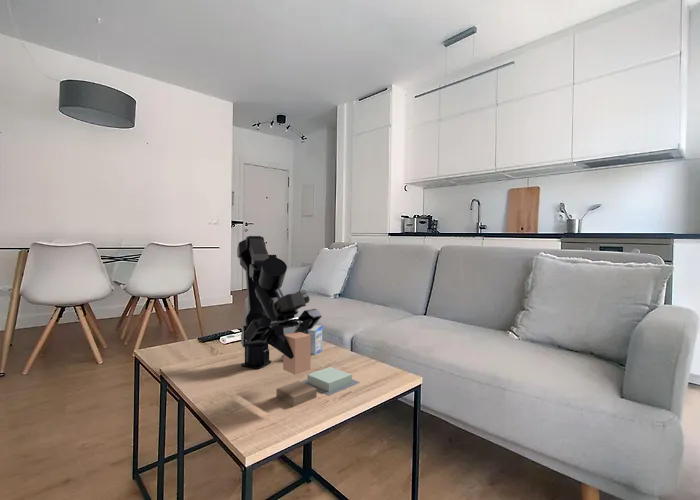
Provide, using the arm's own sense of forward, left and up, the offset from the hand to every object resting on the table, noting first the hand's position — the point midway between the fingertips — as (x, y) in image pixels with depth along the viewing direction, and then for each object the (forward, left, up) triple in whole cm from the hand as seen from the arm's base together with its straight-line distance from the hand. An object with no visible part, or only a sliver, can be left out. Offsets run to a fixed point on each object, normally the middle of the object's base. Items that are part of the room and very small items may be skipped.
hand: (300, 355), depth 81 cm
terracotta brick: (-1, 0, -4) cm, 4 cm away
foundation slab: (+2, +11, -10) cm, 15 cm away
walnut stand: (-1, 0, -11) cm, 11 cm away
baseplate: (+2, +11, -11) cm, 16 cm away
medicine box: (-15, +32, -11) cm, 38 cm away
